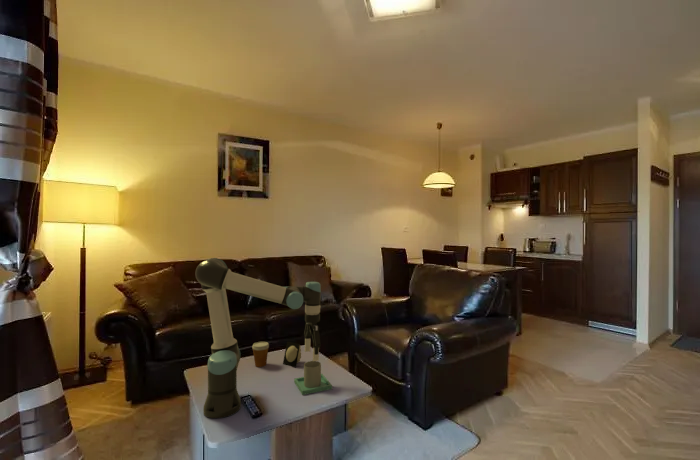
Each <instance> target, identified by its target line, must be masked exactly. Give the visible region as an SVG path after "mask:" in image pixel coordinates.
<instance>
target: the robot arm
mask: <svg viewBox="0 0 700 460" xmlns="http://www.w3.org/2000/svg"><path fill="white" fill-rule="evenodd" d="M194 275H195V279H196V280H197V282H198V283H199V284H200V285H201V286H200V287H201V290H202V291H203V292H205V294H206V298H207V299H206V300H207V308H208V312H209V319H210V325H211V333H212V338H213V339H212V340H213V343H212V344H211V346H210V349H211V355H209V357H208V360H207V395H206V398H205V402H204V404H203V410H202V411H203V416H205V418H210V419H223V418H227V417H230V416H233V415H234V414H236V413H237V412H239V410H241V407H242V406H241V405H242V401H241V397H240V395H239V391H238V388H237V387H238V386H237V382H238V381H237V376H238V375H237V373H238V372H237V370H238V366H239V364H240V361H241V357H242V356H241V351H240V348H239V345H238V340H237V339H236V338H234V335H233V329H232V322H231V315H230V309H229V302H228V296H227V291H226V290H230V291H233V292H236V293H241V294H244V295H248V296H251V297H255V298H259V299H262V300H265V301H270V302H273V303H276V304H277V303H278V304H279V305H280V304H281V305H284V306H287V307H289V308H290V309H292V310H298V309H300V308H301V307H302V305H303V304H304V302H305V305H304V321H305V325H304V332H303V336H304V352H305V353H306V352H307V353H308V352H311V338H312V344H313V346H312V361H318V362H319V361H320V360H319V359H320V358H319V357H320V348H321V346H322V343H321V336H320V335H321V334H320V326H319V325H317V323H319V322H320V321H321V314H320V313H321V308H322V305H321V298H322V297H321V296H322V295H321V294H322V291H321V290H322V289H321V286H322V285H321V283H320V282H318V281H307V282H306V283H305V285H304V286H297V285H296V286H289V285H288V286H281V285H277V284H275V283H270V282H267V281H264V280H260V279H258V278H257V279H256V278H253V277H250V276H247V275H243V274H241V273H237V272H235V271H234V272H233V271H232V270H231V269H230V268H228V266H227V264H226V262H225V261H224V260H222V259H220V258H216V257H211V258H207V259H205V260H204V261H202V262H200V263H199V264H198V265H197V266H196V269H195V274H194Z"/></svg>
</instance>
